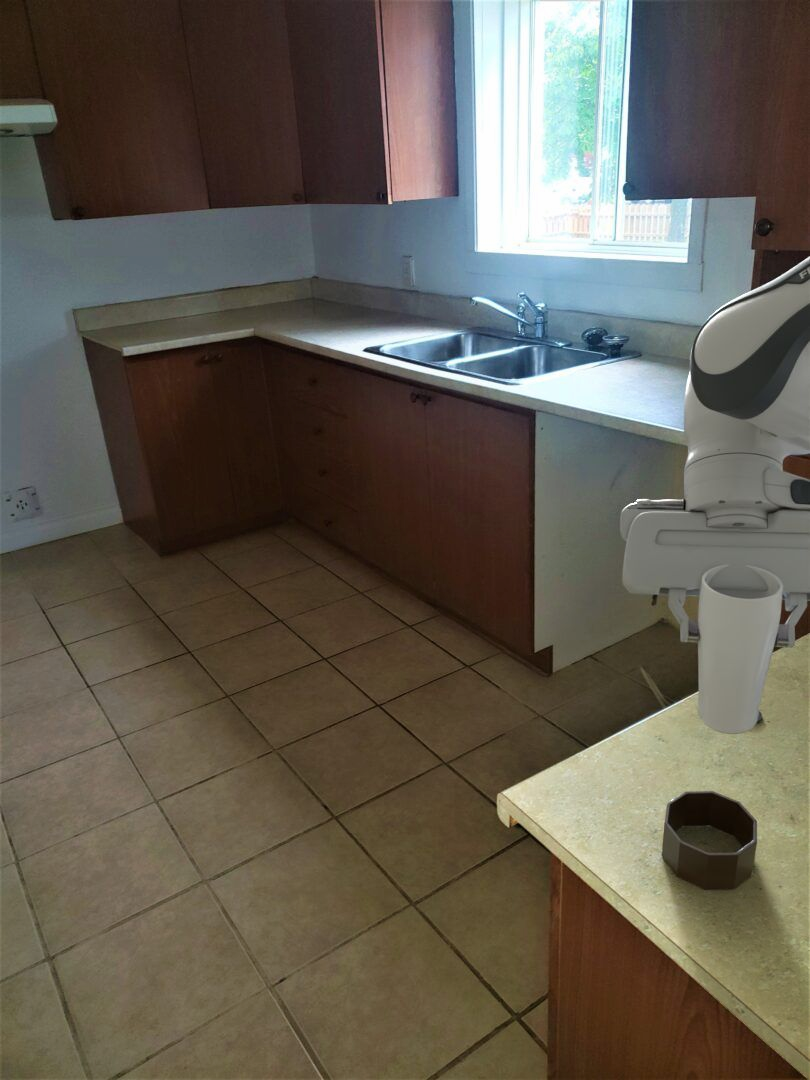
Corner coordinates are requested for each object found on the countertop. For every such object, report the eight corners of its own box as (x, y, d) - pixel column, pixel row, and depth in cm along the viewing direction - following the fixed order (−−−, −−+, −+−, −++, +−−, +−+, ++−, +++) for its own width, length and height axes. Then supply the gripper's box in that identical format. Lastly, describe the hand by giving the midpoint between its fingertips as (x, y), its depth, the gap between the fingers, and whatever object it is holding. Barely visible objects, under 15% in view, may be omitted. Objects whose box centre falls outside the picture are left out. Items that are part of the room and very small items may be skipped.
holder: (752, 832, 84) (757, 799, 82) (751, 900, 77) (757, 865, 75) (666, 815, 87) (669, 782, 85) (658, 879, 80) (661, 845, 78)
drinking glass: (781, 723, 76) (801, 583, 70) (732, 752, 73) (749, 609, 67) (721, 689, 82) (735, 556, 75) (673, 715, 79) (684, 578, 72)
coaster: (761, 709, 101) (761, 707, 101) (761, 727, 98) (762, 725, 98) (730, 704, 103) (730, 702, 102) (729, 721, 100) (730, 719, 100)
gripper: (621, 486, 77) (618, 629, 73) (859, 489, 72) (871, 642, 68) (619, 510, 83) (616, 644, 79) (839, 514, 78) (849, 657, 74)
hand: (737, 643), depth 73 cm, fingers closed on drinking glass, 6 cm apart
